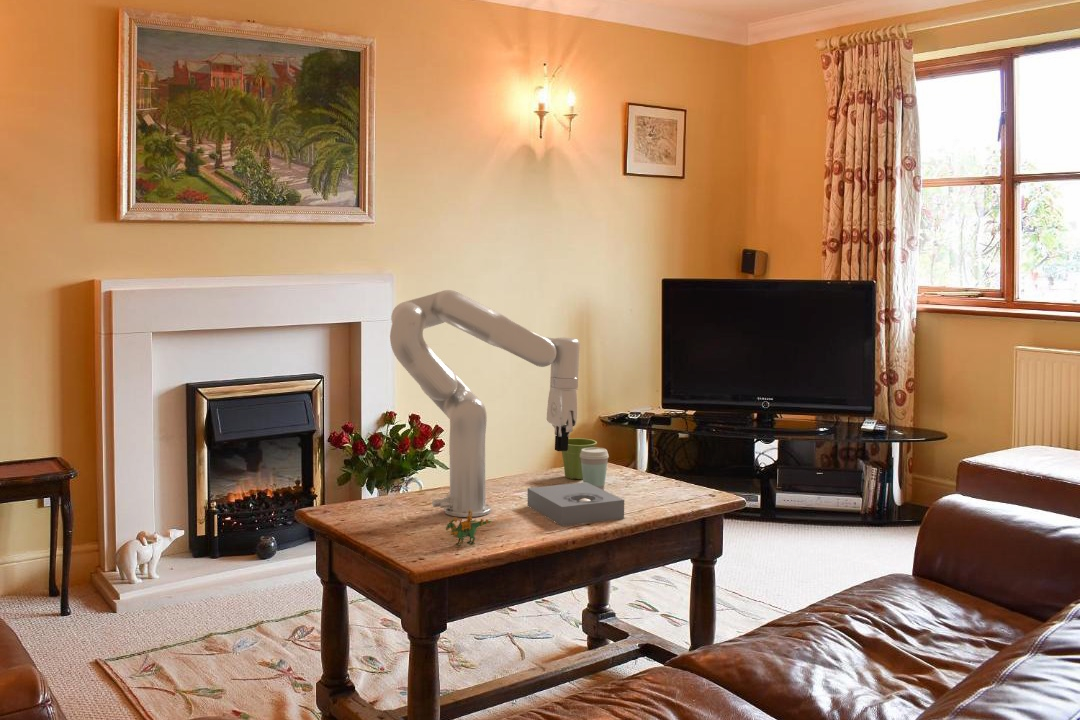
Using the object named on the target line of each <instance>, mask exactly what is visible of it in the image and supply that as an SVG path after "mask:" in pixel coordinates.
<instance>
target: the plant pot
mask: <svg viewBox="0 0 1080 720" xmlns="http://www.w3.org/2000/svg"><path fill="white" fill-rule="evenodd" d="M597 444H598V442H597V441H596V440H594V439H589V438H583V437H579V438H578V437H574V438H573V437H572V438H570V437H568V450H567V451H561V454H562V462H563V469H564V477H565V478H567V479H569V478H570V479H569V480H574V479H577V480H579V479H581V480H583V475H582V466H581V457H580V453H581V450H582V449H584V448H592V447H595V448H596V445H597Z"/></svg>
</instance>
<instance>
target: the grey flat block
mask: <svg viewBox="0 0 1080 720" xmlns="http://www.w3.org/2000/svg"><path fill="white" fill-rule="evenodd" d="M584 498H586V499H589V500H591V501H579V500H581V499H584ZM528 506H529V508H530V507H531V508H530V509H531V510H533V509H534V510H533V511H535V510H536V511H535V512H536V513H538V512H539V514H540V513H541V514H540V515H542V516H543V517H545V516H546V517H545V518H547V519H549V520H550V519H551V521H552V520H553V521H552V522H554V521H555V522H556V524H557V523H558V524H557V525H559V526H561V527H566V525H568V526H575V524H576V525H583V524H582V523H584V524H591V523H600V521H601V522H608V520H609V521H616V519H617V520H624V519H625V499H623V498H622V497H619V496H618V495H617V496H616V495H615V494H613V493H610V492H608V491H606V490H605V489H604V490H602V489H600V488H598V487H596V486H594V485H591V484H589V483H587V482H583V481H582V482H577V483H576V482H575V483H565V484H555V485H546V486H545V485H544V486H536V487H535V486H534V487H529V488H527V507H528ZM623 518H624V519H623Z"/></svg>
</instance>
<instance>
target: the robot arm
mask: <svg viewBox="0 0 1080 720" xmlns="http://www.w3.org/2000/svg"><path fill="white" fill-rule="evenodd" d="M390 319H391V327H390V332H389V333H390V334H389V341H390V346H391V349H392V352H393V354H394V357H395V358H396V360H397V361H398V362H399V363H400V364H401V366H402V367H403V368H404V370H405V371H407V373H409V375H410V376H411V377H412V378H413V379H414V381H415V382H416V383H417V384H418V385H419V386H420V388H421V390H422V391H423V392H424V394H425V395H426V396H427V397H428V398H430V400H431V401H432V402H433V403H434V404H435V405H436V406H437V407H438V409H439V410H440V411H442V413H443V414H444V415H445V416H446V417H447V418H448V419H449V440H448V441H449V442H448V443H449V444H448V446H449V449H448V450H449V451H448V452H449V454H448V455H449V493H447V494H446V497H443V498H441V499H438V498H437V499H432V501H431V502H432V503H431V504H432V507H433V508H437V507H440V508H443V511H444V513H445V514H446V515H448V516H451V517H455V518H457V517H458V518H467V516H468V513H469V511H470V510H471V511H472V516H471V517H472V518H475V517H481V516H486V515H488V514H490V513H491V512H492V506H491V505H490V504H489V503H486V431H487V417H488V416H487V410H486V406H485V405H484V403H483V401H482V400H481V399H480V398H479V397H478V396H476V395H475V394H474V393H473V391H471V390H470V388H469V387H468V386H467V385H466V383H464V382H463V381H462V379H460V378H459V376H457V374H456V373H455V372H454V370H453V369H452V368H451V367H450V366H449V365H447V363H444V362H443V360H442V359H441V358H439V356H438V355H437V354H436V353H435V352H434V351H433V349H432V348H431V347H430V346H429V345H428V344H427V343H426V341H425V339H424V333H423V332H424V329H427V328H431V327H434V326H438V325H441V324H444V323H447V324H448V325H451V326H452V327H454V328H456V329H458V330H460V331H462V332H464V333H466V334H468V335H470V336H473V337H474V338H476V339H479V340H481V341H482V342H485V343H487V344H488V345H491V346H493V347H497V348H499V349H501V350H504V351H506V352H508V353H510V354H512V355H514V356H516V357H517V358H521V359H523V360H525V361H526V362H529V363H530V364H532V365H534V366H536V367H538V368H539V367H540V368H545V367H548V366H550V381H549V382H550V383H549V391H548V396H547V397H548V398H547V408H546V421H547V423H548V424H550V425H552V427H553V428H554V451H557V452H562V451H567V450H568V439H569V438H570V437H569V436H570V433H572V432H573V431H574V430H573V429H574V428H573V427H575V426H576V424H577V421H578V420H577V419H578V394H577V391H578V390H579V389H578V388H579V371H580V370H579V366H580V349H581V348H580V346H581V345H580V341H579V340H578V339H577V338H574V337H555V338H553V337H545V336H542V335H541V334H538V333H536V332H534V331H531V330H530V329H527V328H526V327H524V326H522V325H520V324H518V323H517V322H515V321H513V320H512V319H510V318H508V317H507V316H505V315H503V314H501V313H500V312H498V311H496V310H494V309H491V308H490V307H488V306H486V305H484V304H482V303H480V302H479V301H476V300H474V299H472V298H470V297H468V296H466V295H464V294H462V293H460V292H457V291H455V290H451V289H445V290H441V291H438V292H434V293H432V294H431V293H430V294H428V295H424V296H421V297H418V298H414V299H410V300H406V301H403V302H401V303H399V304H397V305H396V306H395V307H394V308H393V310H392V313H391V317H390ZM470 515H471V513H470ZM470 515H469V516H470Z"/></svg>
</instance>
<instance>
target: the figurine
mask: <svg viewBox="0 0 1080 720" xmlns="http://www.w3.org/2000/svg"><path fill="white" fill-rule="evenodd" d="M470 513H471V515H470ZM469 515H470V516H469ZM471 516H472V511H471V510H470V511H469V513H468V516H467V517H466V520H463V518H460V519H458V518H456V517H454V519H452V520H450V519H449V521H448V523H447V526H446V527H445V530H446V531H449V529H451V530H450V531H451V532H450V534H448V535H449V536H451V537H452V538H454V537H456V538H458V539H457V543H456V542H455V545H456V546H457V547H461V546H462V545H463V542H464V538H467V537H469V541H466V544H469V545H470V546H473V545H474V544H475V541H476V537H475V534H476V531H477V528H479V527H483V526H485V525H488V524H490V523H492V520H489V519H485V521H484V519H483V518H480V520H477V521H476V519H474V520H473V517H471ZM457 521H459V524H458V526H456V524H455V523H457Z"/></svg>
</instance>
